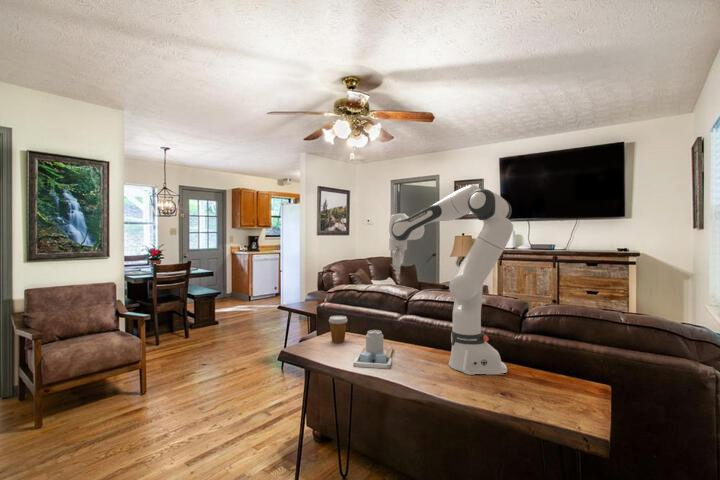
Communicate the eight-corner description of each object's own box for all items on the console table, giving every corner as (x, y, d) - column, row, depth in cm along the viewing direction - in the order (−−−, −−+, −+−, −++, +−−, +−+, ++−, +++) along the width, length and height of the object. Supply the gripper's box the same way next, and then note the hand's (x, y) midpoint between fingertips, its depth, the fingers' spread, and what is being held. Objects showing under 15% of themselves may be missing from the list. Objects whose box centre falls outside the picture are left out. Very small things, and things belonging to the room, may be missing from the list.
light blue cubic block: (372, 362, 152) (372, 352, 152) (368, 365, 148) (368, 355, 148) (364, 360, 154) (364, 351, 154) (359, 363, 150) (359, 354, 150)
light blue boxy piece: (383, 361, 153) (383, 352, 152) (386, 364, 149) (386, 355, 149) (374, 362, 152) (374, 353, 152) (377, 365, 148) (377, 356, 148)
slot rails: (393, 349, 168) (393, 346, 168) (389, 361, 152) (389, 357, 152) (365, 348, 170) (365, 344, 170) (359, 359, 155) (359, 356, 154)
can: (363, 360, 153) (363, 332, 153) (369, 355, 160) (369, 328, 160) (380, 362, 151) (380, 334, 151) (385, 357, 158) (385, 329, 158)
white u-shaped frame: (391, 361, 152) (391, 358, 152) (389, 368, 144) (389, 364, 144) (357, 359, 155) (357, 356, 155) (353, 366, 147) (353, 362, 147)
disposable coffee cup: (347, 344, 177) (347, 319, 176) (327, 344, 177) (327, 319, 177) (348, 338, 186) (348, 315, 186) (329, 338, 186) (329, 315, 186)
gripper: (402, 247, 167) (402, 276, 167) (405, 245, 187) (405, 272, 188) (389, 247, 168) (389, 276, 169) (393, 245, 188) (393, 271, 189)
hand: (398, 274), depth 178 cm, fingers closed
